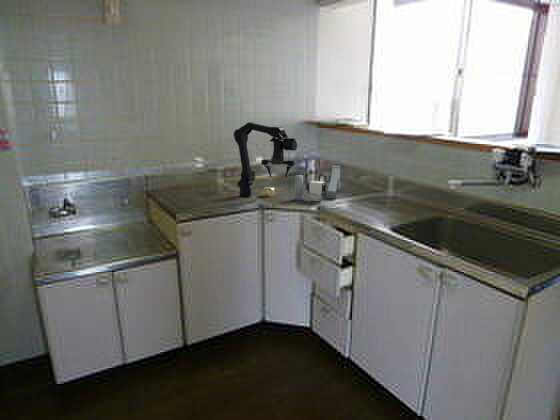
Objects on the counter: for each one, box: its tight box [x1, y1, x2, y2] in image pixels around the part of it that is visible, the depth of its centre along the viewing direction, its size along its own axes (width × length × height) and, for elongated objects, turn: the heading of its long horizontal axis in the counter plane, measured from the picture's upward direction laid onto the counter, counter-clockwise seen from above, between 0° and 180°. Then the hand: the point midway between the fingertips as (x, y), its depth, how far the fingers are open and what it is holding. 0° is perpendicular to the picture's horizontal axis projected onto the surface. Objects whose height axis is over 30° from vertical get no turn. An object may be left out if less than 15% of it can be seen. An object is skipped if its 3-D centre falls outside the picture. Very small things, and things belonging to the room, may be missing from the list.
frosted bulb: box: [293, 174, 305, 199], centre depth 220 cm, size 5×5×13 cm
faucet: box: [325, 165, 342, 200], centre depth 239 cm, size 6×17×30 cm
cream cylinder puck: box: [263, 186, 275, 198], centre depth 231 cm, size 6×6×5 cm
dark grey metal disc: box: [293, 197, 306, 202], centre depth 222 cm, size 7×7×1 cm
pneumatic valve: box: [305, 179, 329, 202], centre depth 218 cm, size 6×12×12 cm, turn 62°
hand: (278, 177), depth 219 cm, fingers open, 9 cm apart
